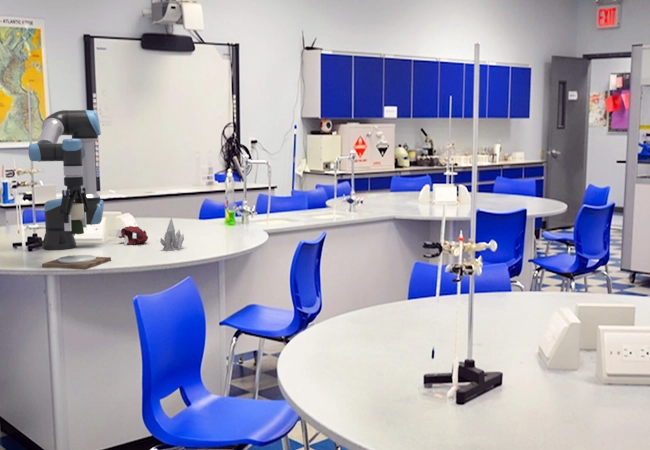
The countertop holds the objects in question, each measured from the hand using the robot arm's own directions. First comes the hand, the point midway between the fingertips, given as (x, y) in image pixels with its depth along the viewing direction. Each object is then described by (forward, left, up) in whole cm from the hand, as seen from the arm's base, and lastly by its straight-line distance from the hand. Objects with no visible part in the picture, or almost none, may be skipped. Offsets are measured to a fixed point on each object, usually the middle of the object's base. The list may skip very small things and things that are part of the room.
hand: (75, 229), depth 311 cm
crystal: (-45, +23, -15) cm, 53 cm away
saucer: (0, 0, -13) cm, 13 cm away
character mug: (0, 0, -3) cm, 3 cm away
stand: (0, 0, -15) cm, 15 cm away
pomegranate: (-56, -3, -15) cm, 58 cm away
